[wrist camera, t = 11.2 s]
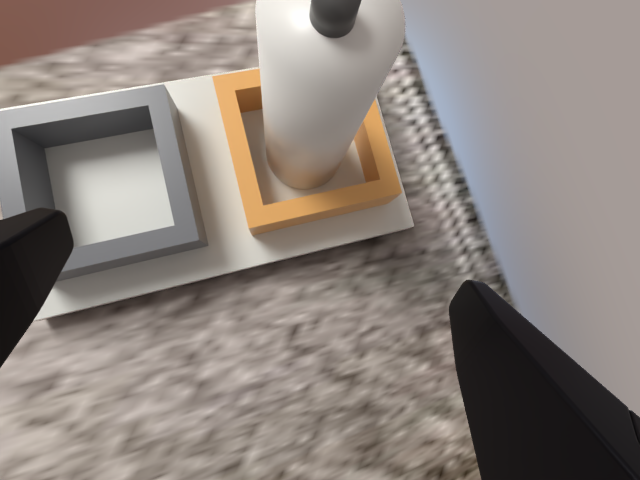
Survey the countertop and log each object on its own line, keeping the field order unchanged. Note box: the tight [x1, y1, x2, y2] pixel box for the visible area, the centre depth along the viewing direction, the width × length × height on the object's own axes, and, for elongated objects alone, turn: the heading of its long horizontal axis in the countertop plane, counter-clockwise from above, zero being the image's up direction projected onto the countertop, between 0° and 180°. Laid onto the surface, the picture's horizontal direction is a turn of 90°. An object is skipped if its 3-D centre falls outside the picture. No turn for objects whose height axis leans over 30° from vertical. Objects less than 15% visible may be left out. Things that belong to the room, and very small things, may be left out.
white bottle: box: [255, 0, 405, 189], centre depth 16 cm, size 5×5×12 cm
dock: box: [0, 67, 414, 321], centre depth 20 cm, size 12×22×4 cm, turn 105°
